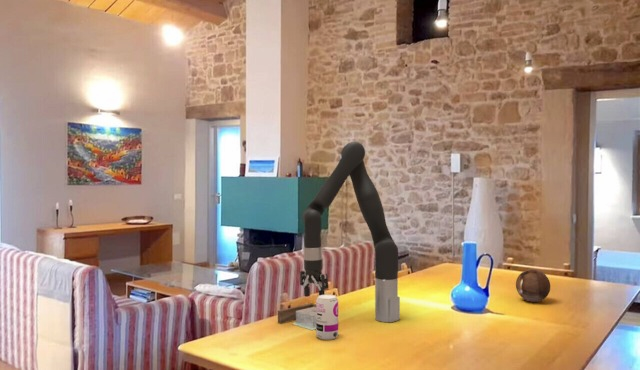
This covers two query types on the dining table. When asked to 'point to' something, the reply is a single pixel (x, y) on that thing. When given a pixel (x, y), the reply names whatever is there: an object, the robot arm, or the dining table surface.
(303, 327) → the pad
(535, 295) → the wooden sphere
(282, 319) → the brown wooden corner wall
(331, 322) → the supplement can
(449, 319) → the dining table surface
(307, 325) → the bracket
